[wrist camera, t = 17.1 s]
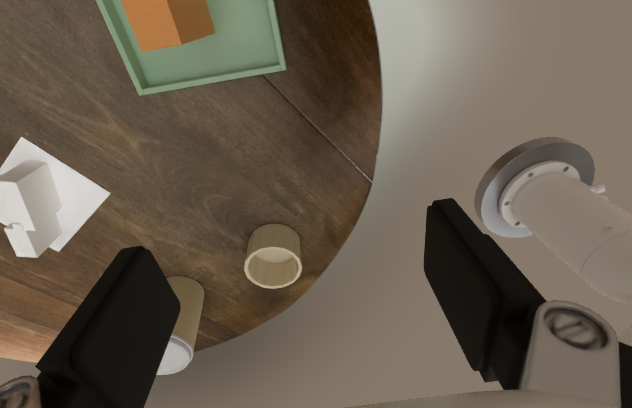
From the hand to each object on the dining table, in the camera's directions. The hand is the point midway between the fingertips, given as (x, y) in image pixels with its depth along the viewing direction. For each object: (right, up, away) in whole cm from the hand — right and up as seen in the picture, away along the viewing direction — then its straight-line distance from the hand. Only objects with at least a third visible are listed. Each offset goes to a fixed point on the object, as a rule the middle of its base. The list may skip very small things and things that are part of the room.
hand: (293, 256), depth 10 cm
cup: (-6, -5, +38) cm, 39 cm away
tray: (-12, +22, +21) cm, 32 cm away
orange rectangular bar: (-12, +21, +20) cm, 32 cm away
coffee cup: (-23, -13, +43) cm, 50 cm away
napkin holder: (-37, +2, +31) cm, 48 cm away
